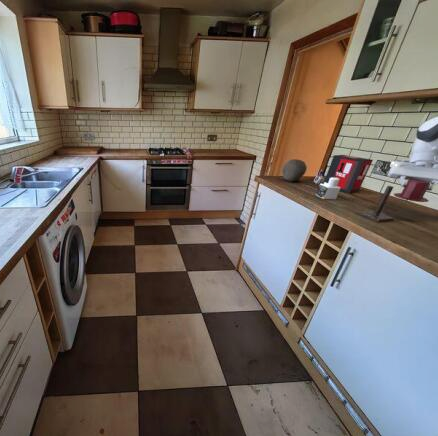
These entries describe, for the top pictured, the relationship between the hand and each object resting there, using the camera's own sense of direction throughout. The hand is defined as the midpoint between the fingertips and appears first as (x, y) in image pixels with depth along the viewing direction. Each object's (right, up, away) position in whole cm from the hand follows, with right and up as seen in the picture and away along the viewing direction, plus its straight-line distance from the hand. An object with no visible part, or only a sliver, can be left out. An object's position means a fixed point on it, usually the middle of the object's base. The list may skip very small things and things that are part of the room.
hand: (416, 187), depth 101 cm
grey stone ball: (-18, +13, +60) cm, 64 cm away
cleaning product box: (+6, +6, +47) cm, 48 cm away
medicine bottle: (-17, -2, +30) cm, 35 cm away
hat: (0, -4, +3) cm, 5 cm away
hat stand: (-12, -13, +6) cm, 19 cm away
